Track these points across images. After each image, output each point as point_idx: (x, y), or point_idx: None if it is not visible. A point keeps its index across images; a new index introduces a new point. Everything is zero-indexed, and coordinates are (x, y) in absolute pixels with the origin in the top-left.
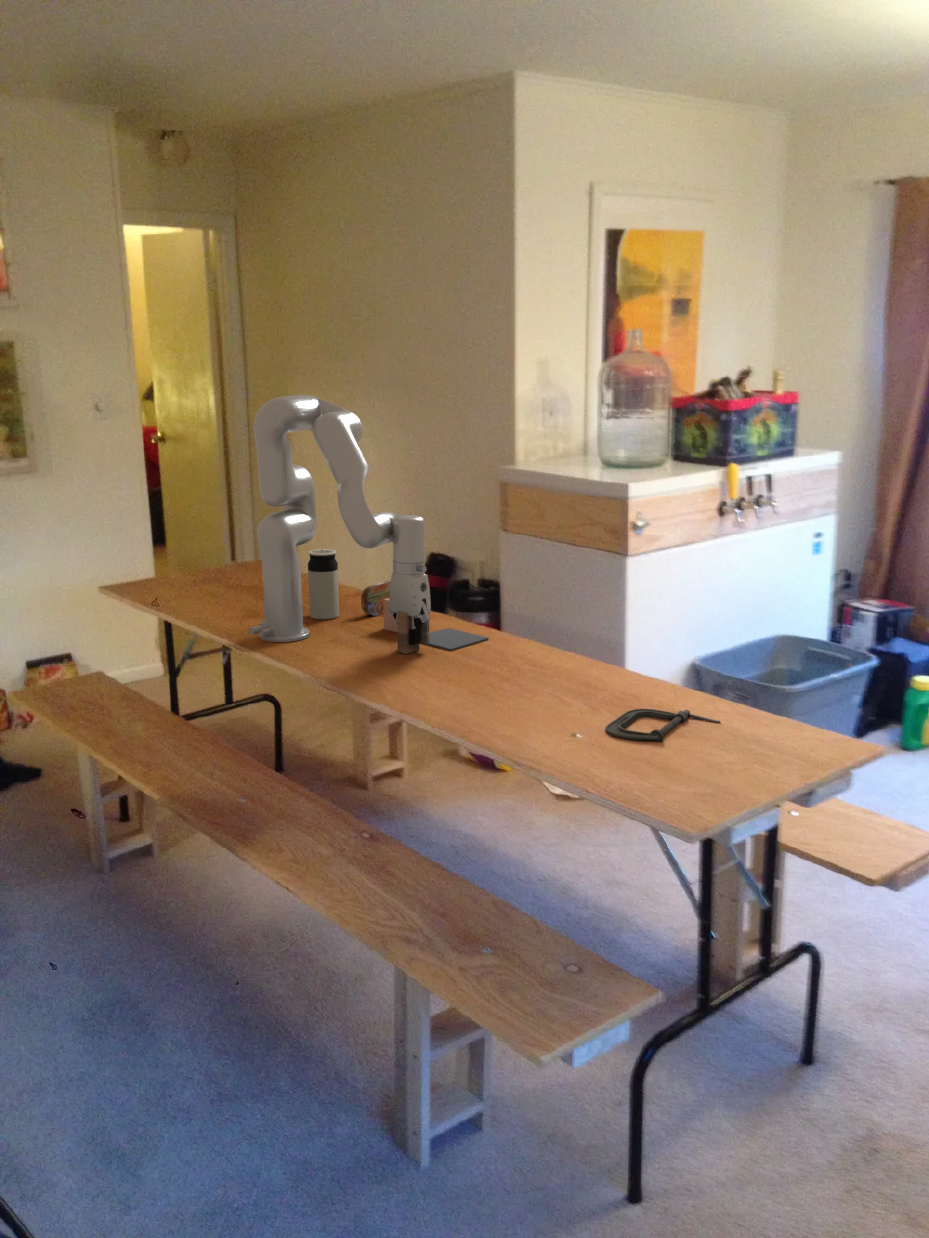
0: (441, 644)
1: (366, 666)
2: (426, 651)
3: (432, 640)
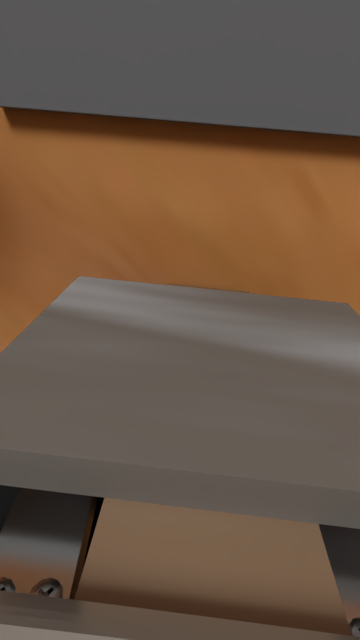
0: (349, 70)
1: None
2: (298, 274)
3: (191, 1)
